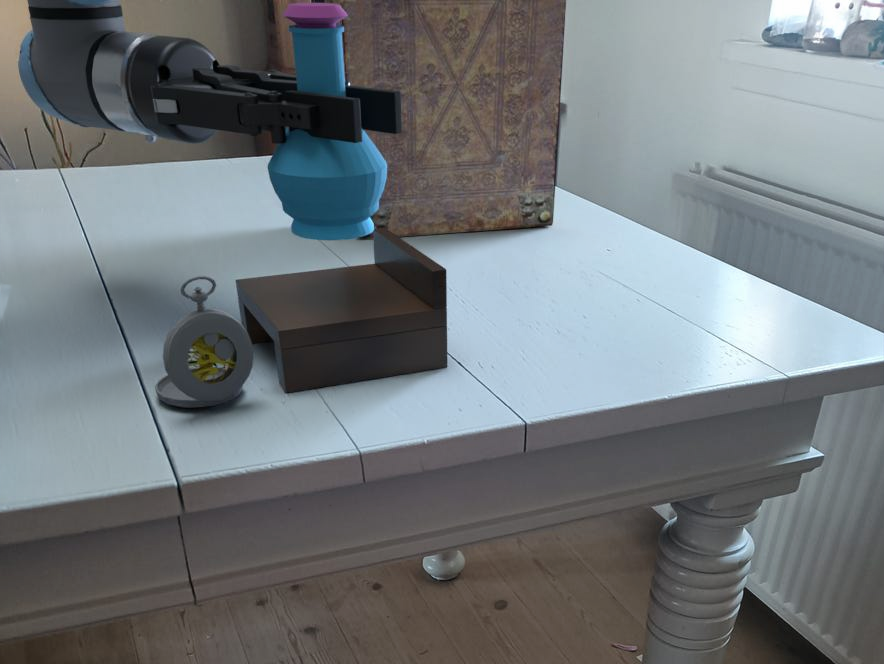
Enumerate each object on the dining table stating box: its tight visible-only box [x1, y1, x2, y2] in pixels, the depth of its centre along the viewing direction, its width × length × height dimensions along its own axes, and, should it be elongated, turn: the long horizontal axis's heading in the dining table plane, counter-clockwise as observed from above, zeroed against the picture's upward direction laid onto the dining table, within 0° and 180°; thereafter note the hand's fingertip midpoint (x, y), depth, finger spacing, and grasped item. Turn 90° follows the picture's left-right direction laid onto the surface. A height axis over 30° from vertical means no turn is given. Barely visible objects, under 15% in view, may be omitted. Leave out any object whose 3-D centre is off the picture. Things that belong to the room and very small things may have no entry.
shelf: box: [235, 228, 448, 394], centre depth 78 cm, size 14×14×8 cm
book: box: [324, 0, 567, 241], centre depth 107 cm, size 25×9×30 cm, turn 107°
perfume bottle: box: [267, 2, 387, 241], centre depth 70 cm, size 9×9×15 cm
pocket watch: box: [154, 275, 254, 409], centre depth 69 cm, size 8×8×10 cm
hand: (378, 116), depth 67 cm, fingers closed on perfume bottle, 4 cm apart
